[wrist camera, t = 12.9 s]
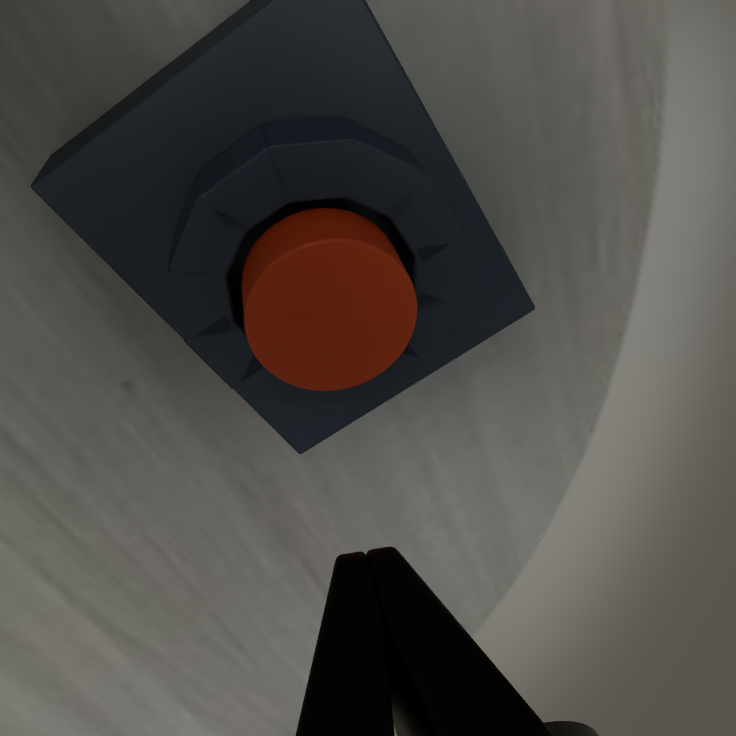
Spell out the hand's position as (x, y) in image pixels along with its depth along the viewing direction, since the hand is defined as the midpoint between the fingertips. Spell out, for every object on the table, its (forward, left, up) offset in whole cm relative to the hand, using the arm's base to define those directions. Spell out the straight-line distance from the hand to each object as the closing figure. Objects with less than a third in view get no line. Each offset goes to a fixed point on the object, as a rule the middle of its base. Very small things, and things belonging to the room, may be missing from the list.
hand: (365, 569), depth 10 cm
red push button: (0, -1, -7) cm, 7 cm away
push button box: (+1, -1, -11) cm, 11 cm away
